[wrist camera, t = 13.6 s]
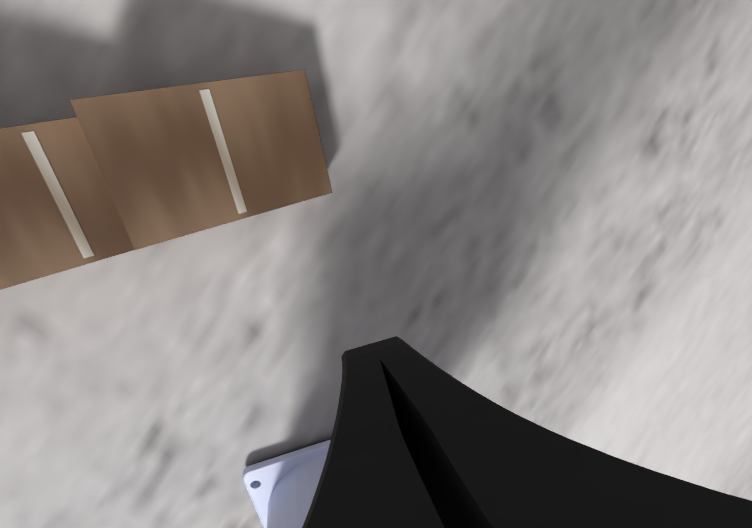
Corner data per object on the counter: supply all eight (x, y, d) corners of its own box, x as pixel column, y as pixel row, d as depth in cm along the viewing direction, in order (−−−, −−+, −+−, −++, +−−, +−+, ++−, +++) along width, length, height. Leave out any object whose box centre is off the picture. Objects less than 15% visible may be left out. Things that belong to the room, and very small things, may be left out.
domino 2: (332, 192, 15) (134, 249, 12) (315, 189, 17) (134, 240, 14) (305, 69, 14) (69, 99, 11) (289, 77, 15) (75, 106, 12)
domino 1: (199, 230, 15) (-47, 303, 11) (192, 224, 16) (-30, 288, 13) (153, 105, 13) (-148, 150, 10) (150, 110, 14) (-117, 151, 11)
